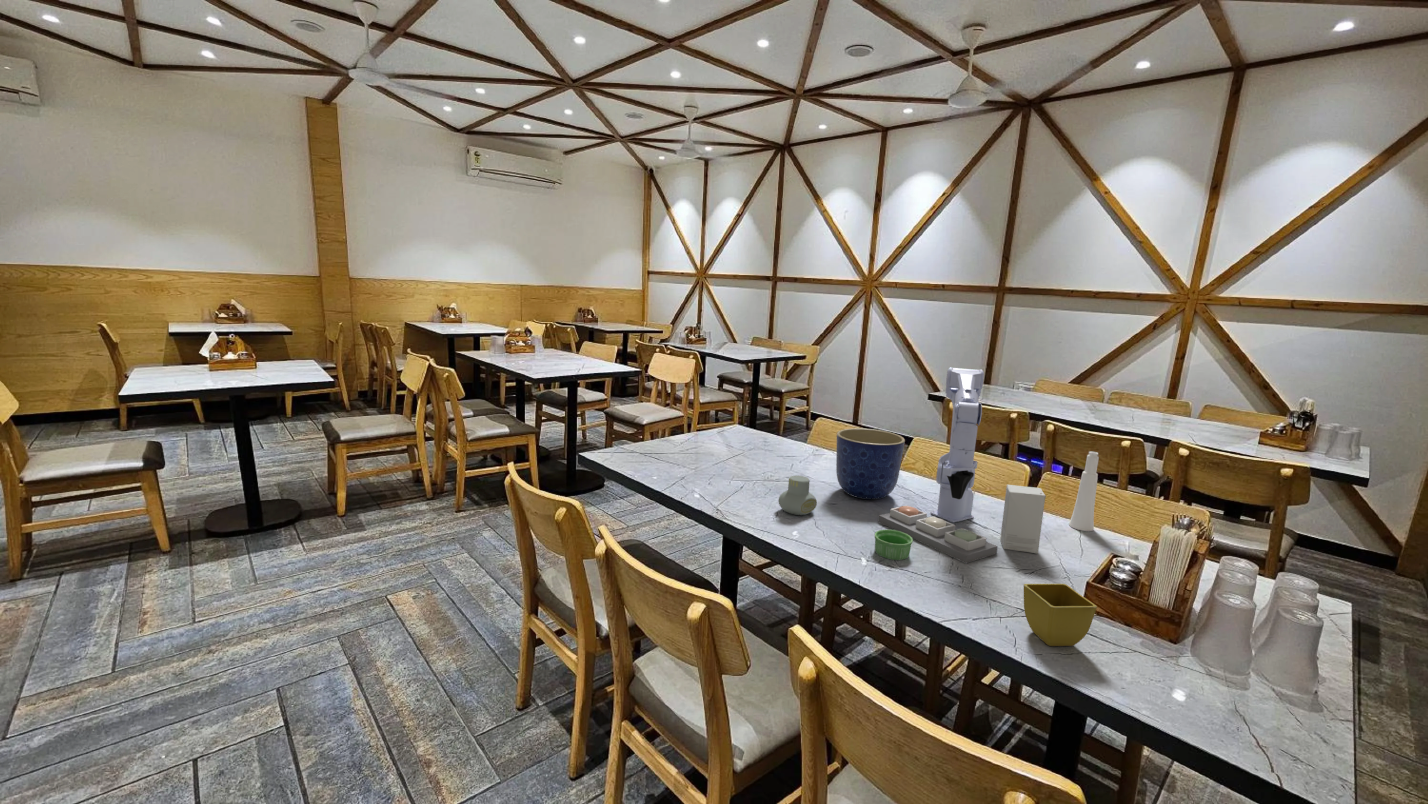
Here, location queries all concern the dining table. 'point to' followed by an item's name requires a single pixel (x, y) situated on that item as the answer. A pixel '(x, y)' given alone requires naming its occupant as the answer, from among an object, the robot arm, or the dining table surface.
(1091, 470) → the cosmetic bottle
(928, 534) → the button panel
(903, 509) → the terracotta button
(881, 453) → the planter
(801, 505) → the air freshener
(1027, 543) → the skincare box
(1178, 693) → the dining table surface
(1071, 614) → the flower pot
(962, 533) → the sage button
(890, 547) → the ramekin
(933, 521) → the cream button
